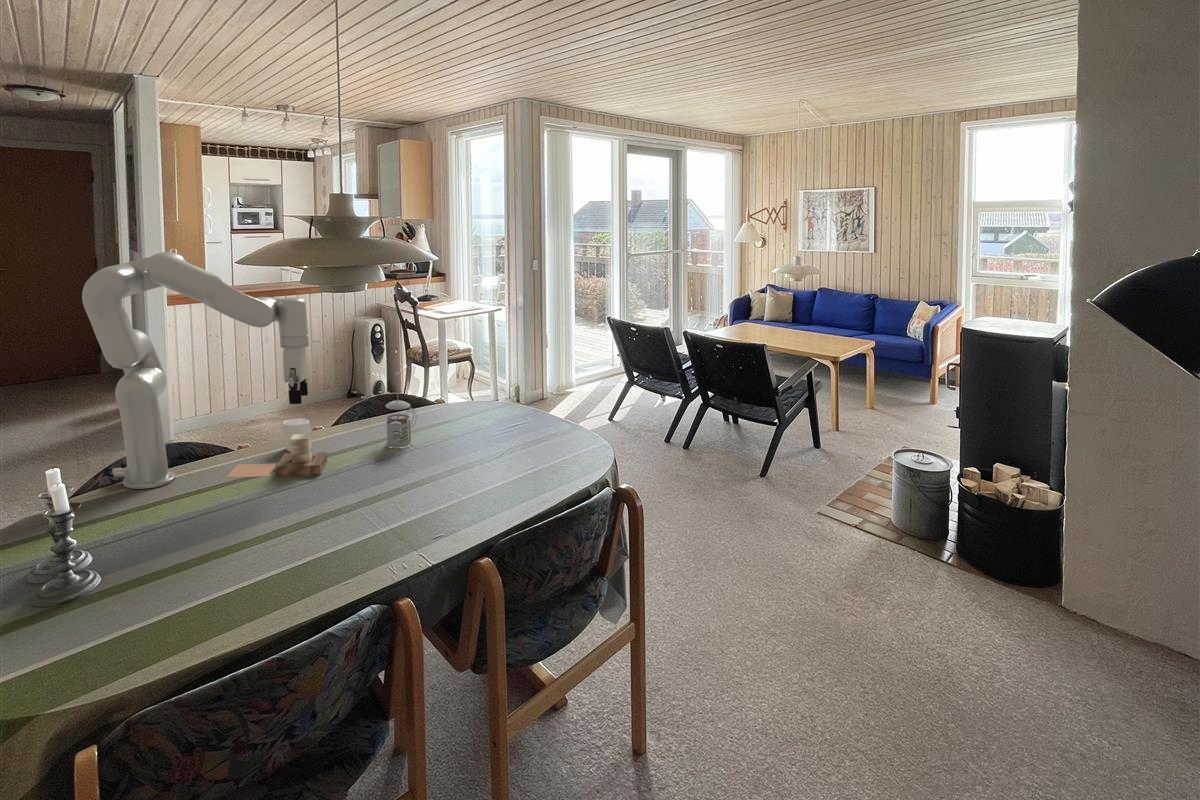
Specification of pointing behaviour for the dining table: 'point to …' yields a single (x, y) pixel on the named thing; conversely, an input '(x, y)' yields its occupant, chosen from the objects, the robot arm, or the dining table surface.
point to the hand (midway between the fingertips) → (299, 399)
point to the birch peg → (301, 448)
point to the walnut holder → (301, 465)
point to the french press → (395, 438)
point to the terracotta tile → (251, 470)
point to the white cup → (295, 429)
